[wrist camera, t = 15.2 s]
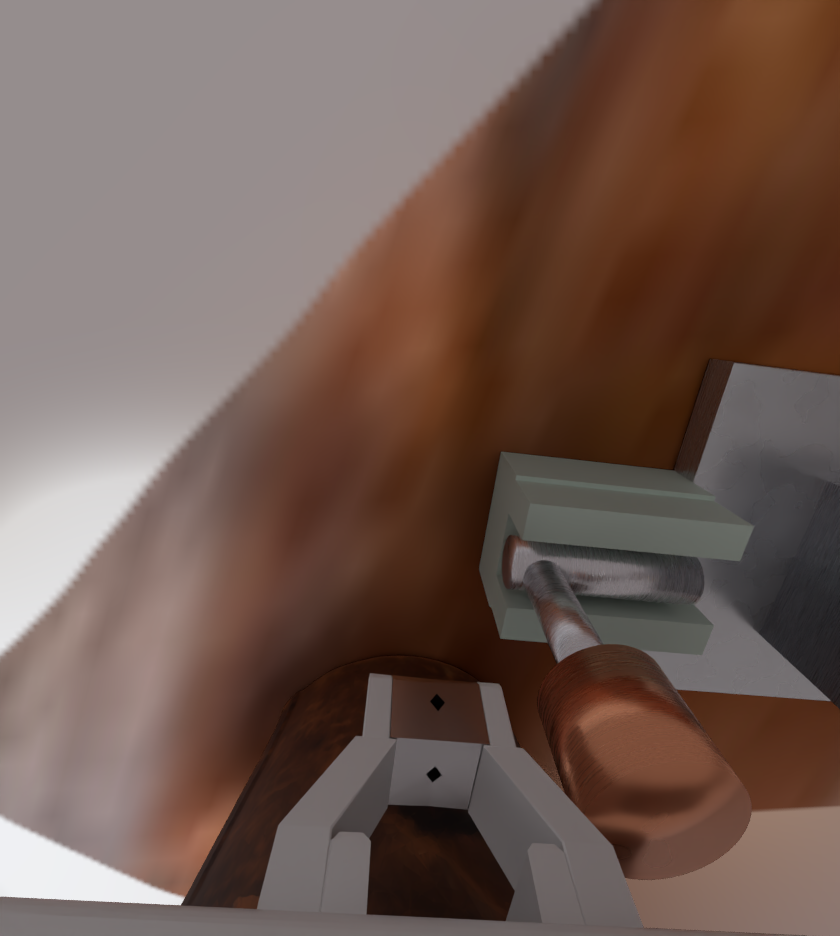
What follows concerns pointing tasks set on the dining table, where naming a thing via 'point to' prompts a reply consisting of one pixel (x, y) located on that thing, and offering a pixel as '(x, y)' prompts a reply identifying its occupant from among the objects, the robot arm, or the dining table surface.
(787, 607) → the block
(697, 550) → the ram guide
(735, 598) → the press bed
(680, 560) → the ram
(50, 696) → the dining table surface
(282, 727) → the case
